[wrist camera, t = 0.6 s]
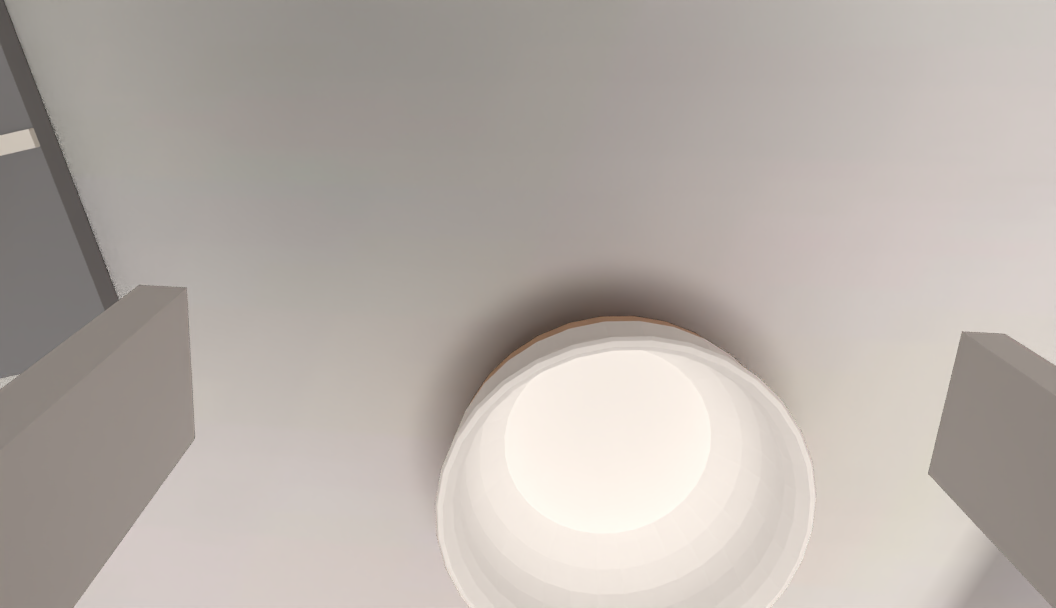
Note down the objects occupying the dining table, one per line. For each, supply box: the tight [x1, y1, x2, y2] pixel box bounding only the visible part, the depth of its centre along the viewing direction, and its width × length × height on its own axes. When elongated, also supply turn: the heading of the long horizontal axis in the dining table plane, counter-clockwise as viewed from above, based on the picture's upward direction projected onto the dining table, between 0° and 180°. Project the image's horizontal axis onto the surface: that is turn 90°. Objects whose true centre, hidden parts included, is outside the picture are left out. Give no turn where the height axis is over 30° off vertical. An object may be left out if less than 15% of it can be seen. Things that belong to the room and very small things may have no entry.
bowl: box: [435, 316, 816, 608], centre depth 40 cm, size 16×16×8 cm
